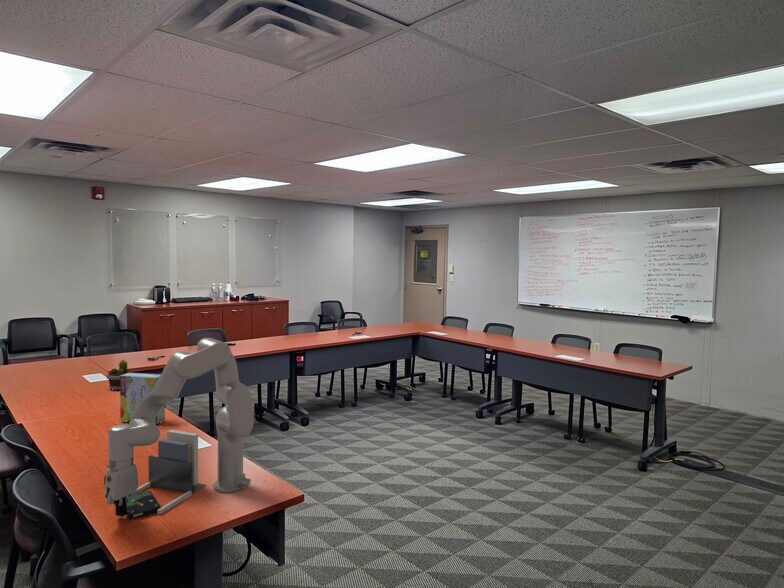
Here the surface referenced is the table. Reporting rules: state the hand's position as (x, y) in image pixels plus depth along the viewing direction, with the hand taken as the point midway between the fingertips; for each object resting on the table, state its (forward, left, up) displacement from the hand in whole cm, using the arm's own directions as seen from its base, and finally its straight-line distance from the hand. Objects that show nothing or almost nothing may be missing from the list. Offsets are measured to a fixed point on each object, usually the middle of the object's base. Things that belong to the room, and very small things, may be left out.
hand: (121, 514), depth 172 cm
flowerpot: (+136, -129, -1) cm, 187 cm away
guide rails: (0, -15, -1) cm, 15 cm away
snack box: (+71, -82, -1) cm, 108 cm away
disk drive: (0, -8, -2) cm, 8 cm away
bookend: (0, -27, -1) cm, 27 cm away
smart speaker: (+23, -20, -2) cm, 30 cm away
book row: (0, -26, -1) cm, 26 cm away
